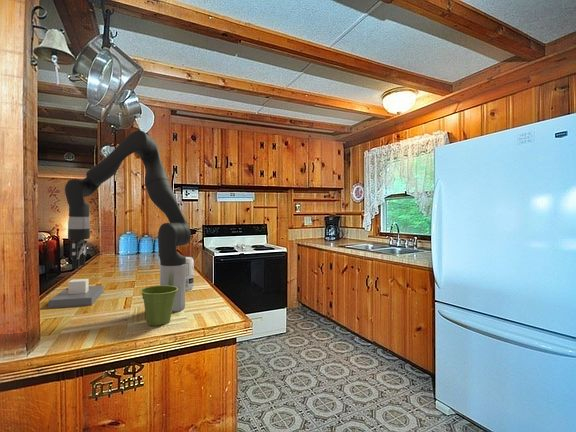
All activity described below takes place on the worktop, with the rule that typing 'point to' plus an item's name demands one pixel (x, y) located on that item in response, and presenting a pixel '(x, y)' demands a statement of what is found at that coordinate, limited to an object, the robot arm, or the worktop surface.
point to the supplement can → (189, 273)
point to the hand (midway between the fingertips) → (78, 266)
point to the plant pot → (158, 303)
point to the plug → (78, 286)
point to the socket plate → (76, 298)
